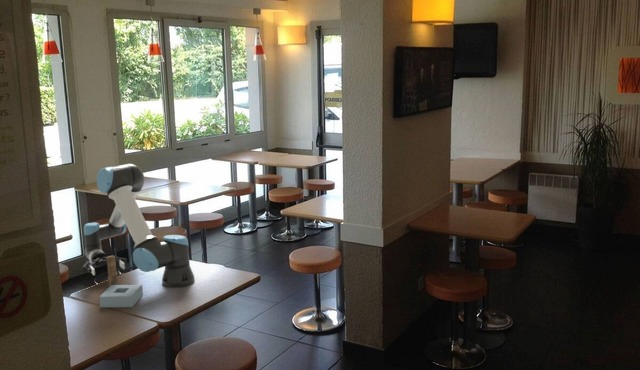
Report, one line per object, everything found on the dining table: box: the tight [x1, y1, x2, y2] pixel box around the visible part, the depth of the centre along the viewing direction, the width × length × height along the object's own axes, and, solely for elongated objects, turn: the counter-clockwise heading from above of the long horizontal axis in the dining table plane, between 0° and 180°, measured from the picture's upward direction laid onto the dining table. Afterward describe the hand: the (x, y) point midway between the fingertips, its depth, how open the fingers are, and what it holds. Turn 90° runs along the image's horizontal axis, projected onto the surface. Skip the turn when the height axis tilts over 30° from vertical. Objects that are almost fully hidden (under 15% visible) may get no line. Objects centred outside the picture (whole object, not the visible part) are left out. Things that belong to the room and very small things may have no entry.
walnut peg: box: [106, 255, 119, 288], centre depth 266 cm, size 4×4×17 cm
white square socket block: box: [98, 284, 144, 308], centre depth 255 cm, size 14×14×5 cm
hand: (109, 269), depth 268 cm, fingers open, 13 cm apart
